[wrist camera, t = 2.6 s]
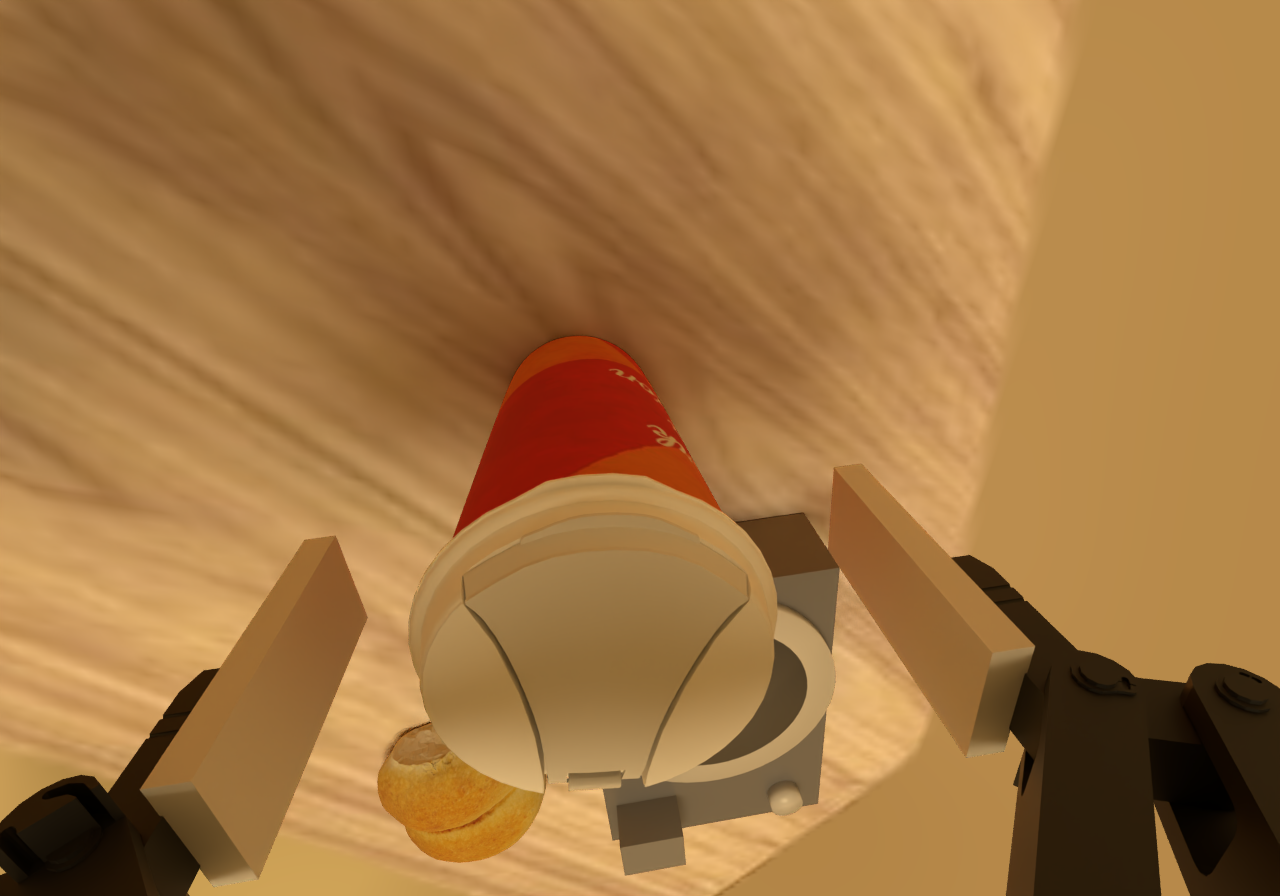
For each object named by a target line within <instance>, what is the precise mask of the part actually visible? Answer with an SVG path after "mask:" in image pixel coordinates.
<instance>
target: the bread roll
mask: <svg viewBox="0 0 1280 896" xmlns="http://www.w3.org/2000/svg"><path fill="white" fill-rule="evenodd" d="M545 789H546V774H544V793H545ZM378 794H379V797H380V800H381V803H382V806H383V807H384V808H385V810H386V811H387V812H389V813H390V814H391V815H392V816H393V817H394V818H396V819H397V820H398V821H399V822H400V823H402V824H403V825H405V828H406V831H407V833H408V835H409V837H410V838H411V840H412V841H413V842H414V843H415V844H416V845H417V846H418V848H419V849H420V850H421V851H423V852H424V853H426V854H427V855H429V856H431V857H433V858H435V859H438V860H443V861H449V862H458V863H461V862H471V861H477V860H482V859H486V858H489V857H492V856H494V855H496V854H498V853H500V852H502V851H504V850H506V849H508V848H509V847H511V846H512V845H513V844H515V843H516V842H517V841H518V840H519V839H520V838H521V837H522V836H523V835H524V833H525V832H526V831H527V830H528V829H529V827H530V826H531V824H532V823H533V821H534V819H535V817H536V815H537V813H538V811H539V809H540V806H541V803H542V800H543V796H544V794H543V793H538V792H533V791H528V790H523V789H520V788H517V787H513V786H510V785H507V784H504V783H501V782H499V781H497V780H495V779H493V778H490V777H488V776H486V775H484V774H482V773H480V772H479V771H477V770H476V769H474V768H472V767H471V766H469V765H468V764H466V763H465V762H463V761H462V760H461V759H460V758H459V757H458V756H457V755H456V754H455V753H453V752H452V751H451V750H450V749H449V748H448V747H447V746H446V744H445V743H444V742H443V740H442V739H441V738H440V736H439V735H438V734H437V732H436V731H435V729H434V727H433V725H432V723H429V724H427V725H424V726H422V727H419V728H416V729H414V730H412V731H410V732H408V733H407V734H405V735H404V736H402V737H401V738H400V739H399V740H398V741H397V742H396V744H395V746H394V748H393V750H392V752H391V754H390V755H389V756H388V758H387V759H386V760H385V762H384V764H383V765H382V767H381V769H380V771H379V774H378Z"/></svg>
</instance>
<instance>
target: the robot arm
mask: <svg viewBox="0 0 1280 896" xmlns="http://www.w3.org/2000/svg"><path fill="white" fill-rule="evenodd" d="M828 551H829V552H830V554H831V555H832V557H833V558H834V560H835V561H836V563H837V564H838V566H839V567H840V569H841V570H842V572H843V573H844V575H845V576H846V578H847V579H848V581H849V582H850V584H851V585H852V587H853V588H854V590H855V591H856V593H857V594H858V596H859V598H860V599H861V601H862V602H863V604H864V605H865V607H866V608H867V610H868V611H869V613H870V614H871V616H872V617H873V619H874V620H875V622H876V623H877V625H878V626H879V628H880V629H881V631H882V632H883V634H884V635H885V637H886V638H887V640H888V641H889V643H890V644H891V646H892V647H893V649H894V650H895V652H896V653H897V655H898V656H899V658H900V659H901V661H902V662H903V664H904V665H905V667H906V668H907V670H908V671H909V673H910V674H911V676H912V677H913V679H914V680H915V682H916V683H917V685H918V686H919V688H920V689H921V691H922V692H923V694H924V695H925V697H926V698H927V700H928V702H929V703H930V705H931V706H932V708H933V709H934V711H935V712H936V714H937V715H938V717H939V718H940V720H941V721H942V723H943V724H944V726H945V727H946V729H947V730H948V732H949V733H950V735H951V736H952V738H953V739H954V741H955V742H956V744H957V745H958V747H959V748H960V750H961V751H962V753H963V754H964V756H965V757H966V758H969V757H975V756H981V755H986V754H993V753H998V752H1004V750H1005V746H1006V743H1007V740H1008V737H1009V733H1010V730H1011V731H1012V733H1013V734H1014V735H1015V736H1016V738H1017V739H1018V740H1019V742H1020V743H1021V744H1022V746H1023V747H1024V748H1025V749H1024V752H1023V755H1022V758H1021V762H1020V765H1019V768H1018V771H1017V774H1016V777H1015V780H1014V784H1013V785H1014V786H1017V787H1018V793H1017V802H1016V811H1015V820H1014V828H1013V829H1014V830H1013V837H1012V846H1011V856H1010V864H1009V874H1008V883H1007V891H1006V896H1161V888H1160V876H1159V864H1158V851H1157V839H1156V827H1155V814H1154V804H1155V807H1156V810H1157V812H1158V815H1159V817H1160V820H1161V822H1162V825H1163V827H1164V830H1165V833H1166V835H1167V838H1168V840H1169V843H1170V845H1171V848H1172V850H1173V853H1174V855H1175V858H1176V860H1177V863H1178V865H1179V868H1180V871H1181V873H1182V876H1183V878H1184V881H1185V883H1186V886H1187V888H1188V891H1189V893H1190V896H1280V688H1278V687H1277V686H1275V685H1274V684H1272V683H1271V682H1269V681H1268V680H1266V679H1265V678H1263V677H1260V676H1258V675H1255V674H1253V673H1251V672H1249V671H1247V670H1244V669H1241V668H1237V667H1233V666H1230V665H1226V664H1212V663H1206V664H1203V665H1200V666H1197V667H1195V668H1194V670H1193V671H1192V673H1191V674H1190V676H1189V678H1188V681H1187V683H1181V682H1171V681H1162V680H1152V679H1143V678H1137V677H1134V676H1133V675H1132V674H1131V673H1130V671H1129V670H1127V669H1125V668H1124V667H1122V666H1121V665H1119V664H1118V663H1116V662H1115V661H1113V660H1111V659H1108V658H1106V657H1103V656H1101V655H1098V654H1095V653H1090V652H1085V651H1079V650H1077V649H1076V648H1075V647H1074V646H1073V645H1072V644H1071V643H1070V642H1069V641H1068V640H1067V639H1066V638H1064V636H1063V635H1061V634H1060V633H1059V632H1058V631H1057V630H1056V629H1055V628H1054V627H1053V626H1052V625H1051V624H1050V623H1049V622H1048V621H1047V620H1046V619H1045V618H1044V617H1043V616H1042V615H1041V614H1040V613H1039V612H1038V611H1036V609H1035V608H1034V607H1032V605H1030V603H1029V602H1028V601H1024V599H1023V597H1022V596H1021V595H1020V594H1019V593H1018V592H1017V591H1016V590H1015V589H1014V588H1011V587H1010V584H1009V583H1008V582H1007V581H1006V580H1005V579H1004V578H1003V577H1002V576H1001V575H1000V574H999V573H998V572H997V571H995V569H994V568H992V567H990V566H988V565H987V564H985V563H983V562H981V561H980V560H978V559H976V558H974V557H972V556H970V555H967V556H960V557H953V558H951V557H950V556H949V555H948V554H947V553H946V552H945V551H944V550H943V549H942V548H941V547H940V546H939V545H938V544H937V543H936V542H935V540H934V539H933V538H932V537H931V536H930V535H929V534H928V533H927V532H926V531H925V530H924V529H923V528H922V527H921V526H920V525H919V524H918V523H917V522H916V521H915V519H914V518H913V517H912V516H911V515H910V514H909V513H908V512H907V511H906V510H905V509H904V508H903V507H902V506H901V505H900V504H899V503H898V502H897V501H896V500H895V498H894V497H893V496H892V495H891V494H890V493H889V492H888V491H887V490H886V489H885V488H884V487H883V486H882V485H881V484H880V483H879V482H878V481H877V480H876V479H875V477H874V476H873V475H872V474H871V473H870V472H869V471H868V470H867V469H866V468H865V467H864V466H863V465H862V464H856V465H849V466H841V467H834V474H833V488H832V502H831V516H830V530H829V544H828ZM367 618H368V617H367V614H366V612H365V609H364V607H363V604H362V602H361V599H360V597H359V594H358V592H357V589H356V586H355V584H354V581H353V579H352V576H351V574H350V571H349V569H348V566H347V564H346V561H345V558H344V556H343V553H342V551H341V548H340V546H339V543H338V541H337V538H336V536H330V537H323V538H315V539H308V540H304V542H303V543H302V545H301V546H300V548H299V549H298V551H297V552H296V554H295V556H294V557H293V559H292V560H291V562H290V563H289V565H288V566H287V568H286V569H285V571H284V572H283V574H282V575H281V577H280V578H279V580H278V581H277V583H276V584H275V586H274V587H273V589H272V590H271V592H270V593H269V595H268V596H267V598H266V599H265V601H264V602H263V604H262V605H261V607H260V608H259V610H258V612H257V613H256V615H255V616H254V618H253V619H252V621H251V622H250V624H249V625H248V627H247V628H246V630H245V631H244V633H243V634H242V636H241V637H240V639H239V640H238V642H237V643H236V645H235V646H234V648H233V649H232V651H231V652H230V654H229V655H228V657H227V658H226V660H225V661H224V663H223V664H222V666H221V668H218V669H211V670H204V671H203V672H201V673H200V674H199V675H198V676H197V677H196V678H195V679H194V680H192V681H191V682H190V683H189V684H188V685H187V686H186V687H184V688H183V689H182V690H181V691H180V692H179V693H178V695H177V696H176V697H175V699H174V700H173V702H172V703H171V705H170V706H169V707H168V709H167V710H166V712H165V713H164V714H163V719H161V720H159V721H158V723H157V724H156V726H155V727H154V729H153V730H152V731H151V733H150V738H149V739H146V740H145V741H144V743H143V744H142V746H141V747H140V748H139V750H138V751H137V753H136V754H135V755H134V757H133V758H132V760H131V761H130V763H129V764H128V765H127V767H126V768H125V770H124V771H123V772H122V774H121V775H120V777H119V778H118V780H117V781H116V782H115V784H114V785H113V787H112V788H111V789H110V791H109V792H108V793H107V792H106V791H105V789H104V788H103V787H102V786H101V784H100V783H99V782H98V781H97V780H96V778H95V777H93V776H85V775H79V776H75V777H70V778H66V779H62V780H60V781H58V782H56V783H54V784H52V785H50V786H48V787H46V788H43V789H41V790H40V791H38V792H37V793H35V794H34V795H32V796H31V797H29V798H28V799H26V800H25V801H23V802H22V803H21V804H19V805H18V806H17V807H16V808H15V809H14V810H13V811H12V812H11V813H10V814H9V815H8V816H6V817H5V818H4V819H3V820H2V821H1V823H0V867H1V868H2V869H3V870H4V871H5V872H6V873H5V874H2V875H0V896H189V894H188V893H187V892H188V890H189V888H190V886H191V884H192V882H193V880H194V878H195V876H196V874H197V872H198V870H199V868H200V870H201V871H202V872H203V874H204V875H205V876H206V878H207V879H208V880H209V882H210V883H211V884H212V886H213V887H217V886H223V885H229V884H235V883H240V882H246V881H252V880H258V879H259V877H260V874H261V872H262V870H263V867H264V865H265V862H266V860H267V858H268V855H269V853H270V850H271V848H272V845H273V843H274V841H275V838H276V836H277V834H278V831H279V829H280V826H281V824H282V822H283V819H284V817H285V814H286V812H287V810H288V807H289V805H290V802H291V800H292V798H293V795H294V793H295V790H296V788H297V786H298V783H299V781H300V778H301V776H302V774H303V771H304V769H305V766H306V764H307V762H308V759H309V757H310V754H311V752H312V750H313V747H314V745H315V742H316V740H317V738H318V735H319V733H320V730H321V728H322V726H323V723H324V721H325V718H326V716H327V714H328V711H329V709H330V706H331V704H332V702H333V699H334V697H335V694H336V692H337V690H338V687H339V685H340V682H341V680H342V678H343V675H344V673H345V670H346V668H347V666H348V663H349V661H350V659H351V656H352V654H353V651H354V649H355V647H356V644H357V642H358V639H359V637H360V635H361V632H362V630H363V627H364V625H365V623H366V620H367Z"/></svg>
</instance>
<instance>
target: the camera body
mask: <svg viewBox="0 0 1280 896" xmlns="http://www.w3.org/2000/svg"><path fill="white" fill-rule="evenodd" d="M736 524H738V525H739V526H740V527H741V528H742V529H743V530H744V531H746V533H747V534H748V535H749V536H750V538H751V539H752V540H753V542H754V543H755V544H756V545H757V547H758V548H759V549H760V551H761V553H762V555H763V557H764V559H765V561H766V563H767V565H768V567H769V569H770V571H771V573H772V577H773V581H774V585H775V589H776V592H777V611H778V615H777V622H776V628H775V634H774V663H773V669H772V675H771V679H770V683H769V685H768V688H767V691H766V693H765V696H764V699H763V701H762V703H761V704H760V706H759V708H758V709H757V711H756V713H755V714H754V716H753V718H752V719H751V720H750V721H749V723H748V724H747V725H746V726H745V727H744V729H743V730H742V731H741V732H740V733H739V734H738V735H737V736H736V737H735V738H734V739H733V740H732V741H731V742H730V743H729V744H728V745H726V746H725V747H724V748H723V749H722V750H720V751H719V752H717V753H716V754H715V755H713V756H712V757H710V758H709V759H708V760H706V761H705V762H703V763H701V764H699V765H697V766H696V767H694V768H692V769H690V770H688V771H687V772H685V773H682V774H680V775H678V776H675V777H673V778H671V779H668V780H666V781H663V782H660V783H657V784H654V785H650V786H647V787H645V785H644V784H643V779H642V774H641V776H640V778H635V779H621V787H620V788H609V789H603V792H604V797H605V803H606V808H607V813H608V818H609V824H610V829H611V834H612V840H620V850H621V855H622V861H623V866H624V872H625V876H626V875H632V874H637V873H643V872H648V871H653V870H659V869H664V868H670V867H675V866H680V865H686V860H685V849H684V838H683V832H682V828H685V827H691V826H696V825H702V824H707V823H713V822H718V821H724V820H730V819H735V818H741V817H746V816H752V815H757V814H763V813H768V812H773V813H774V814H776V815H779V816H786V815H790V814H793V813H795V812H797V811H798V810H799V809H800V808H801V807H802V806H807V805H813V804H818V797H819V786H820V775H821V764H822V753H823V742H824V732H825V721H826V710H827V708H828V706H829V704H830V702H831V699H832V696H833V693H834V688H835V682H836V671H835V665H834V660H833V657H832V645H833V634H834V623H835V612H836V602H837V591H838V580H839V569H840V568H839V566H838V565H837V563H836V561H835V560H834V558H833V557H832V555H831V554H830V552H829V551H828V549H827V548H826V546H825V545H824V543H823V542H822V540H821V539H820V537H819V536H818V534H817V533H816V531H815V530H814V528H813V527H812V525H811V524H810V522H809V520H808V519H807V517H806V516H805V514H804V513H800V514H793V515H786V516H779V517H772V518H765V519H758V520H751V521H745V522H738V523H736ZM622 773H623V772H622ZM622 773H621V775H622Z"/></svg>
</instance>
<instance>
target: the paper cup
mask: <svg viewBox="0 0 1280 896" xmlns="http://www.w3.org/2000/svg"><path fill="white" fill-rule="evenodd" d="M777 615H778V611H777V592H776V589H775V585H774V581H773V577H772V573H771V571H770V569H769V567H768V565H767V563H766V561H765V559H764V557H763V555H762V553H761V551H760V549H759V548H758V547H757V545H756V544H755V543H754V542H753V540H752V539H751V538H750V536H749V535H748V534H747V533H746V531H744V530H743V529H742V528H741V527H740V526H739V525H738V524H736V523H735V522H734V521H733V520H732V519H731V518H730V517H728V516H727V515H726V514H724V513H723V512H722V511H721V509H720V508H719V506H718V504H717V502H716V500H715V499H714V497H713V495H712V493H711V491H710V490H709V488H708V486H707V484H706V482H705V481H704V479H703V477H702V475H701V473H700V472H699V470H698V468H697V466H696V464H695V463H694V461H693V459H692V457H691V455H690V454H689V452H688V450H687V448H686V446H685V445H684V443H683V441H682V439H681V437H680V436H679V434H678V432H677V430H676V428H675V427H674V425H673V423H672V421H671V420H670V418H669V416H668V414H667V412H666V411H665V409H664V407H663V405H662V404H661V402H660V400H659V398H658V397H657V395H656V393H655V392H654V390H653V388H652V386H651V385H650V383H649V381H648V380H647V378H646V377H645V375H644V373H643V372H642V370H641V369H640V368H639V366H638V365H637V364H636V362H635V361H634V360H633V359H632V358H631V357H630V356H629V355H628V354H627V353H626V352H624V351H623V350H622V349H620V348H619V347H617V346H616V345H614V344H612V343H610V342H608V341H605V340H602V339H599V338H595V337H589V336H569V337H563V338H559V339H556V340H553V341H550V342H548V343H546V344H544V345H542V346H541V347H539V348H538V349H536V350H535V351H534V352H532V353H531V354H530V355H529V356H528V357H527V358H526V359H525V360H524V361H523V362H522V364H521V365H520V366H519V368H518V369H517V371H516V373H515V375H514V377H513V379H512V381H511V383H510V385H509V387H508V390H507V392H506V395H505V397H504V400H503V402H502V405H501V407H500V410H499V413H498V415H497V418H496V421H495V423H494V426H493V429H492V431H491V434H490V437H489V440H488V442H487V445H486V448H485V450H484V453H483V456H482V459H481V461H480V464H479V467H478V470H477V472H476V475H475V478H474V481H473V483H472V486H471V489H470V492H469V494H468V497H467V500H466V503H465V506H464V508H463V511H462V514H461V517H460V519H459V522H458V525H457V528H456V530H455V533H454V536H453V539H452V540H451V541H450V542H449V543H448V544H447V545H446V546H445V547H443V548H442V549H441V550H440V552H439V553H438V555H437V556H436V557H435V559H434V560H433V562H432V563H431V564H430V566H429V567H428V569H427V570H426V572H425V573H424V575H423V578H422V580H421V582H420V584H419V586H418V589H417V591H416V593H415V595H414V598H413V603H412V608H411V612H410V617H409V648H410V652H411V657H412V661H413V665H414V668H415V670H416V673H417V675H418V677H419V679H420V690H421V694H422V698H423V703H424V707H425V710H426V712H427V714H428V716H429V718H430V721H431V723H432V725H433V727H434V729H435V731H436V732H437V734H438V735H439V736H440V738H441V739H442V740H443V742H444V743H445V744H446V746H447V747H448V748H449V749H450V750H451V751H452V752H453V753H455V754H456V755H457V756H458V757H459V758H460V759H461V760H462V761H463V762H465V763H466V764H468V765H469V766H471V767H472V768H474V769H476V770H477V771H479V772H480V773H482V774H484V775H486V776H488V777H490V778H493V779H495V780H497V781H499V782H501V783H504V784H507V785H510V786H513V787H517V788H520V789H523V790H528V791H533V792H538V793H543V794H544V774H547V777H548V783H549V784H552V783H569V791H576V790H593V789H609V788H620V787H621V779H635V778H640V776H641V774H642V779H643V784H644V785H645V787H647V786H650V785H654V784H657V783H660V782H663V781H666V780H668V779H671V778H673V777H675V776H678V775H680V774H682V773H685V772H687V771H688V770H690V769H692V768H694V767H696V766H697V765H699V764H701V763H703V762H705V761H706V760H708V759H709V758H710V757H712V756H713V755H715V754H716V753H717V752H719V751H720V750H722V749H723V748H724V747H725V746H726V745H728V744H729V743H730V742H731V741H732V740H733V739H734V738H735V737H736V736H737V735H738V734H739V733H740V732H741V731H742V730H743V729H744V727H745V726H746V725H747V724H748V723H749V721H750V720H751V719H752V718H753V716H754V714H755V713H756V711H757V709H758V708H759V706H760V704H761V703H762V701H763V699H764V696H765V693H766V691H767V688H768V685H769V683H770V679H771V675H772V669H773V663H774V634H775V628H776V622H777ZM622 772H623V773H622ZM621 773H622V775H621ZM567 776H569V779H567Z"/></svg>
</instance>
